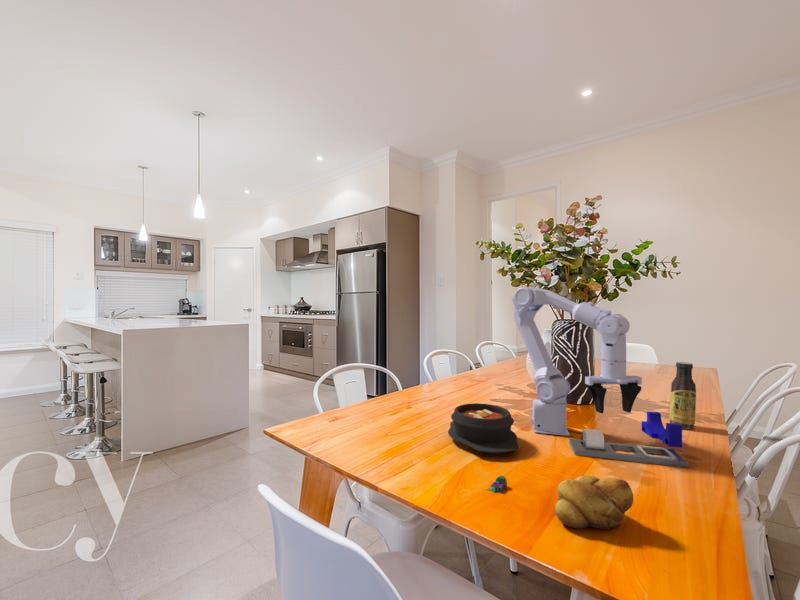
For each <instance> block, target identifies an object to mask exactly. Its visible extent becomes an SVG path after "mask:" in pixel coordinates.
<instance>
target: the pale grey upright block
mask: <svg viewBox="0 0 800 600" xmlns="http://www.w3.org/2000/svg"><path fill="white" fill-rule="evenodd" d="M582 440H583V448H584V449H587V450H596V451H604V442H605V435H604V434H603V433H602V430H600V429H592V428H582Z"/></svg>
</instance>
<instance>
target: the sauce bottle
mask: <svg viewBox="0 0 800 600" xmlns="http://www.w3.org/2000/svg"><path fill="white" fill-rule="evenodd" d="M693 365H694V364H693V363H691V362H683V361H677V362H676V363H675V368H676V374H675V378H674V379H673V380H672V381H671V385H670V386H671V389H670V395H669V396H670V397H669V398H670V400H669V401H670V402H669V417H668V419H669V423H675V424H680V425H682V430H694V428H695V424H696V409H697V408H696V407H697V406H696V405H697V388H696V383H695V381H694V380H693V372H692V371H693V367H694V366H693Z"/></svg>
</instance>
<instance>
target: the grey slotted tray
mask: <svg viewBox="0 0 800 600" xmlns="http://www.w3.org/2000/svg"><path fill="white" fill-rule="evenodd" d="M568 439H569V440H568V443H569V446H570V448H571V450H572V452H573V454H574V456H582V457H588V458H596V459H597V458H598V459H608V460H616V461H623V462H624V461H626V462H635V463H642V464H643V463H644V464H650V463H651V464H653V465H661V466H670V467H679V468H687V469H688V468H689V462H688V461H687V460H686V459H685V458H684V457H682V456H681V455H680V454H679V453H678V452H677V451H676V450H675V449H673V448H668V447H659V446H648V445H637V444H627V443H626V444H625V443H616V442H605V441H604V451H596V450H587V449H584V448H583V439H577V438H568ZM616 451H625V452H632V453H633V454H632V453H623V452H616ZM653 454H654V455H653Z"/></svg>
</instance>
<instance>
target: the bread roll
mask: <svg viewBox="0 0 800 600" xmlns="http://www.w3.org/2000/svg"><path fill="white" fill-rule="evenodd" d="M556 498H557V501H556V502H555V507H554V512H555V516H556V517H557V519H558V520H559V522H560V523H562V524H563V525H566V526H568V527H570V528H574V529H585V528H588V527H593V528H594V529H602V530H603V529H604V530H605V529H606V530H609V529H614V528H615V527H618V526H619V525H621V523H622V522H623V517H624V515H625V513H626V512H628V510H631V508H632V506H633V503H634V493H633V490H632V488H631V486H630V484H629V483H628V482H627V481H626V480H625V479H622V478H617V477H612V478H611V477H607V478H602V479H600V478H598V476H597V477H596V476H594V475H593V476H592V475H584V474H581V475H579V476H578V477H576V478H575V479H572V478H567V479H565V480H563V481H561V482H560V483H559V484H558V487H557V497H556Z"/></svg>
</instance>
